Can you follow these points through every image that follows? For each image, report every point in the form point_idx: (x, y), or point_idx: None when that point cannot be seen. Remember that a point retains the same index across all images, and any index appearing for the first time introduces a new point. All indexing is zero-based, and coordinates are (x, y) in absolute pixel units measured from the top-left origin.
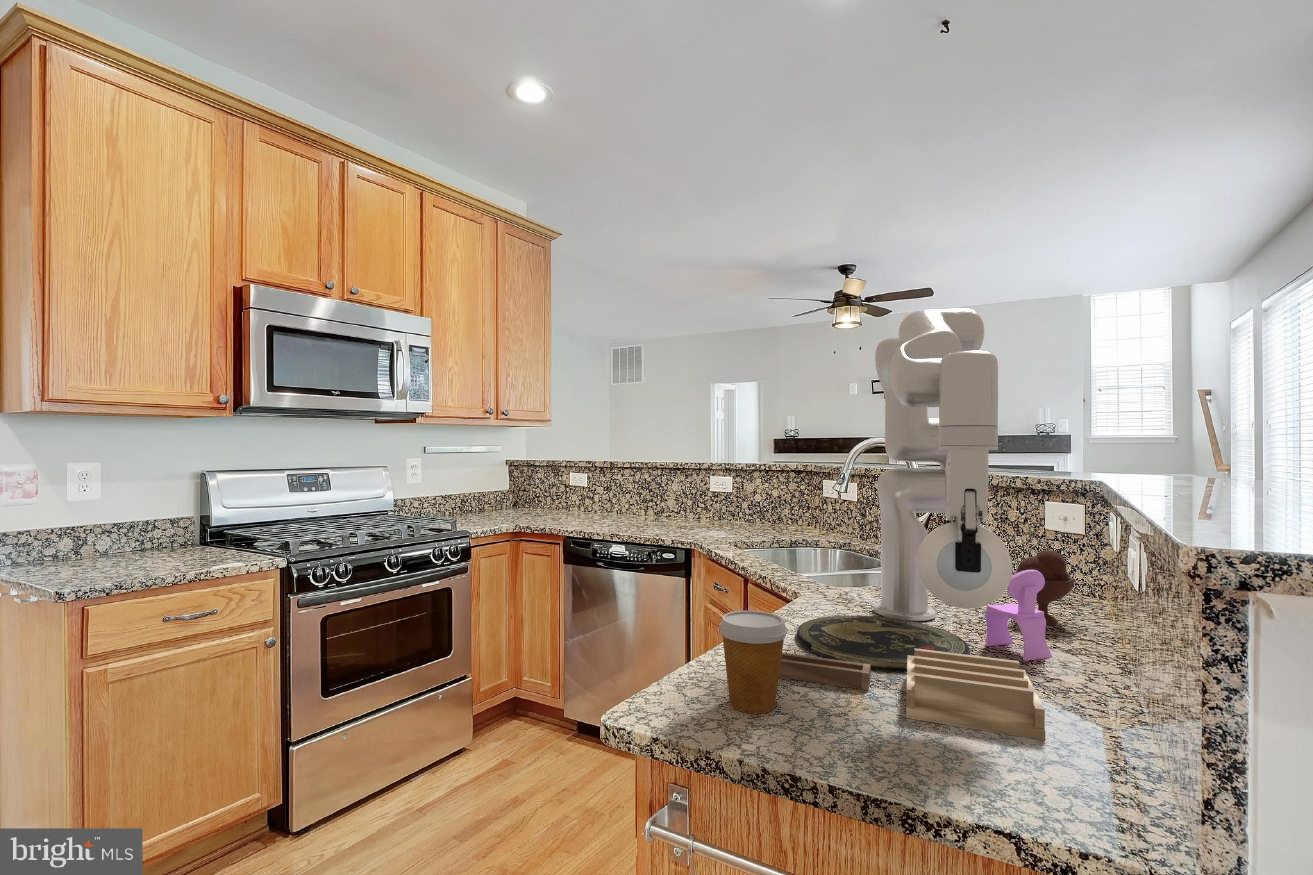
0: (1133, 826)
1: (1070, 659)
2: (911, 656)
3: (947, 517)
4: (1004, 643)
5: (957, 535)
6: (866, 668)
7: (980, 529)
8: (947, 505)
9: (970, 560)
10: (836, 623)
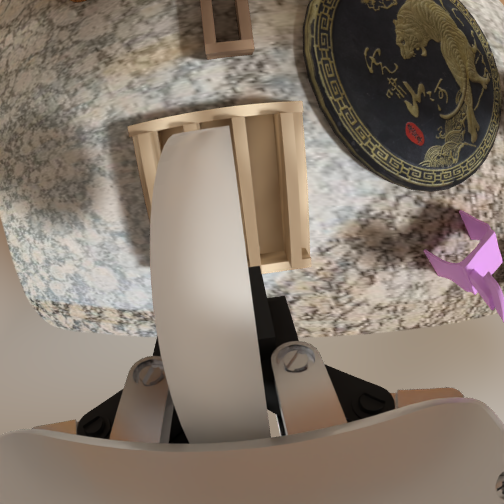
0: (64, 310)
1: (433, 290)
2: (298, 107)
3: (15, 432)
4: (467, 230)
5: (160, 383)
6: (228, 46)
7: None
8: (2, 501)
9: None
10: (452, 19)
